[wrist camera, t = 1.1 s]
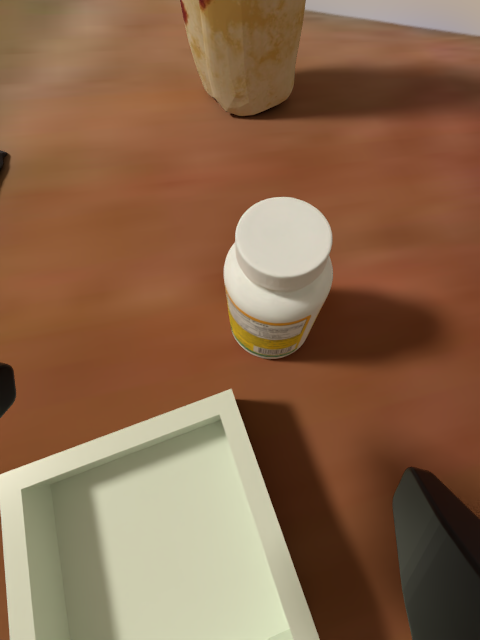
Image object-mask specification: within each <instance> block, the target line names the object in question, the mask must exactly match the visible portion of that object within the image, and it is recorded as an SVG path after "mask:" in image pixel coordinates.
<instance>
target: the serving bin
mask: <svg viewBox="0 0 480 640" xmlns="http://www.w3.org/2000/svg"><path fill="white" fill-rule="evenodd" d="M0 509H1V523H2V536H3V550H4V564H5V578H6V591H7V605H8V619H9V633H10V640H320V639H319V636H318V633H317V630H316V628H315V625H314V622H313V619H312V616H311V613H310V611H309V608H308V605H307V602H306V599H305V596H304V594H303V591H302V588H301V585H300V582H299V579H298V577H297V574H296V571H295V568H294V565H293V562H292V560H291V557H290V554H289V551H288V548H287V545H286V542H285V540H284V537H283V534H282V531H281V528H280V525H279V523H278V520H277V517H276V514H275V511H274V508H273V506H272V503H271V500H270V497H269V494H268V491H267V489H266V486H265V483H264V480H263V477H262V474H261V472H260V469H259V466H258V463H257V460H256V457H255V455H254V452H253V449H252V446H251V443H250V440H249V438H248V435H247V432H246V429H245V426H244V423H243V421H242V418H241V415H240V412H239V409H238V406H237V404H236V401H235V398H234V395H233V392H232V389H230V390H227V391H224V392H222V393H219V394H216V395H213V396H211V397H208V398H205V399H203V400H200V401H197V402H195V403H192V404H189V405H186V406H184V407H181V408H178V409H176V410H173V411H170V412H168V413H165V414H162V415H160V416H157V417H154V418H151V419H149V420H146V421H143V422H141V423H138V424H135V425H133V426H130V427H127V428H124V429H122V430H119V431H116V432H114V433H111V434H108V435H106V436H103V437H100V438H98V439H95V440H92V441H89V442H87V443H84V444H81V445H79V446H76V447H73V448H71V449H68V450H65V451H62V452H60V453H57V454H54V455H52V456H49V457H46V458H44V459H41V460H38V461H36V462H33V463H30V464H27V465H25V466H22V467H19V468H17V469H14V470H11V471H9V472H6V473H3V474H0Z"/></svg>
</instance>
